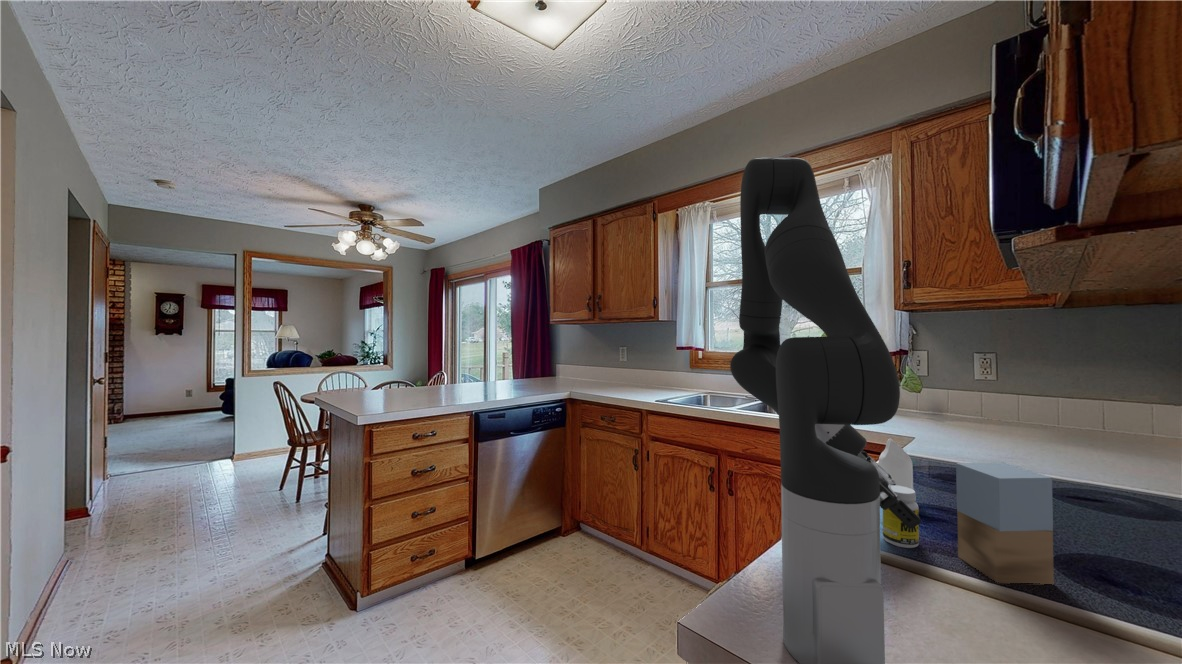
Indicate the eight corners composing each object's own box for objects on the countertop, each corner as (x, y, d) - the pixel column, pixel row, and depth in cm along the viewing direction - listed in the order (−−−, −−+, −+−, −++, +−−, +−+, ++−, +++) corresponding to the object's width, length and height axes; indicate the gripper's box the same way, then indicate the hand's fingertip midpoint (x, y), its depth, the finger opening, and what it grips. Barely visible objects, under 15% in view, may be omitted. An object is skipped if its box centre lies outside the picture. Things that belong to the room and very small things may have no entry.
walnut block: (1053, 584, 59) (1052, 531, 59) (996, 583, 60) (995, 530, 60) (1008, 558, 66) (1007, 510, 66) (958, 556, 66) (957, 509, 67)
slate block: (1052, 530, 59) (1052, 477, 59) (1000, 531, 59) (999, 478, 59) (1004, 509, 66) (1003, 462, 66) (956, 510, 66) (956, 463, 66)
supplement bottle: (903, 550, 68) (902, 495, 69) (875, 537, 73) (874, 485, 73) (926, 546, 70) (925, 492, 70) (898, 533, 74) (897, 482, 74)
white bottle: (920, 441, 87) (896, 443, 86) (921, 502, 87) (897, 505, 86) (892, 434, 93) (870, 436, 92) (893, 492, 93) (871, 494, 92)
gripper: (844, 428, 69) (942, 519, 63) (845, 413, 81) (926, 488, 76) (807, 458, 72) (897, 549, 66) (813, 439, 84) (889, 513, 78)
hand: (912, 516), depth 71 cm, fingers open, 6 cm apart
